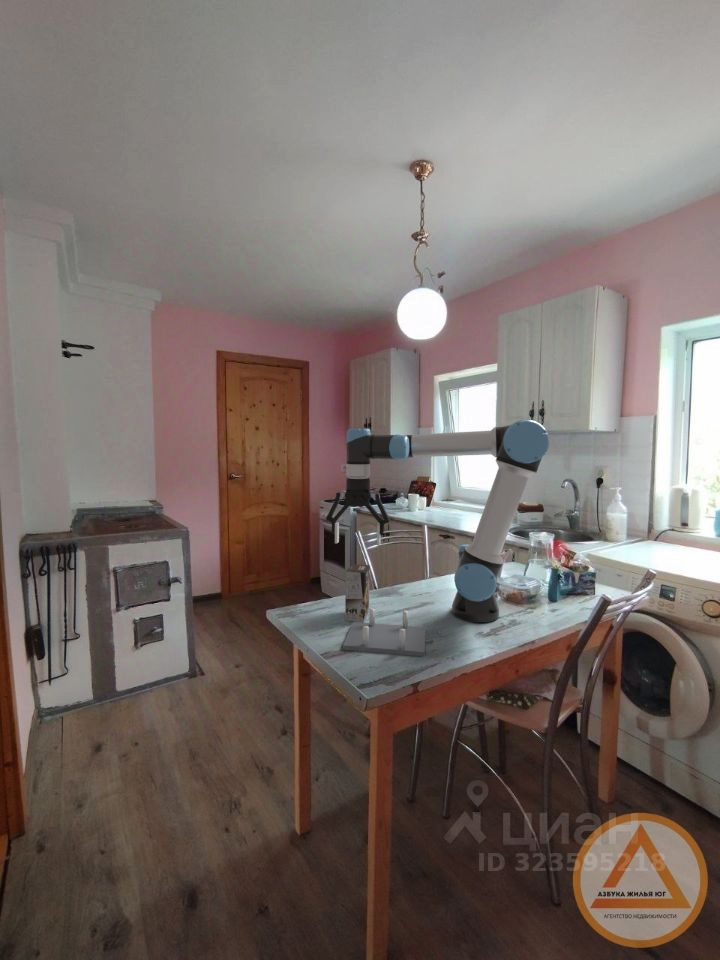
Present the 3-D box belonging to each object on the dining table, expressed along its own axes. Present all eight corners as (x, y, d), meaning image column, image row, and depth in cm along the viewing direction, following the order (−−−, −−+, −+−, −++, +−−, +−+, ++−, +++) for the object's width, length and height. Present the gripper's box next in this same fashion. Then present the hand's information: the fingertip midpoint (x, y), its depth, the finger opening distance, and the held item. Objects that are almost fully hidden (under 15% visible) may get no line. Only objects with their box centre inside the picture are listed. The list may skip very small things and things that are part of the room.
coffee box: (364, 622, 139) (364, 572, 137) (344, 621, 140) (344, 571, 139) (369, 611, 148) (370, 564, 146) (350, 610, 149) (351, 563, 148)
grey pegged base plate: (425, 631, 133) (425, 611, 132) (424, 656, 117) (424, 633, 117) (353, 625, 136) (353, 606, 136) (343, 649, 121) (343, 627, 120)
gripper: (398, 477, 142) (397, 542, 143) (322, 475, 146) (322, 539, 147) (396, 479, 134) (395, 548, 136) (316, 477, 138) (316, 544, 140)
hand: (357, 543), depth 142 cm, fingers open, 13 cm apart
